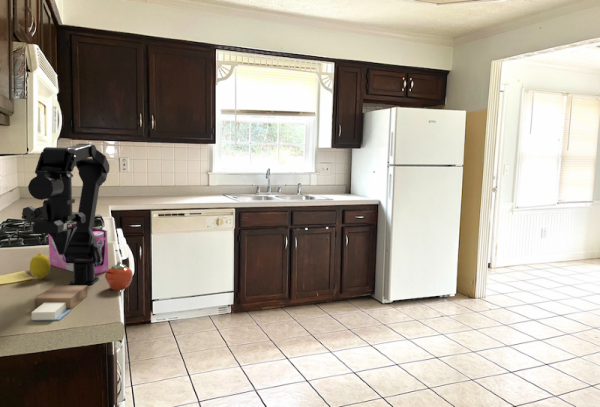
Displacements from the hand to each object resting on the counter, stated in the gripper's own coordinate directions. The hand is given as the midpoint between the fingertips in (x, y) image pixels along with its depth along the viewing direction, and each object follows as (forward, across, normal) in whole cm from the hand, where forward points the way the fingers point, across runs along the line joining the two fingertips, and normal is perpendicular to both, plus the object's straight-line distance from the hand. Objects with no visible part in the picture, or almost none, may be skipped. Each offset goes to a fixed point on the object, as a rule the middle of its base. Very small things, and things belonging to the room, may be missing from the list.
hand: (61, 254), depth 121 cm
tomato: (+12, -9, +12) cm, 19 cm away
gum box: (+12, -32, -8) cm, 35 cm away
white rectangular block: (+12, +13, +2) cm, 18 cm away
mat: (+12, +13, +3) cm, 18 cm away
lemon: (+12, -18, -14) cm, 26 cm away
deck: (+12, +4, +2) cm, 13 cm away
